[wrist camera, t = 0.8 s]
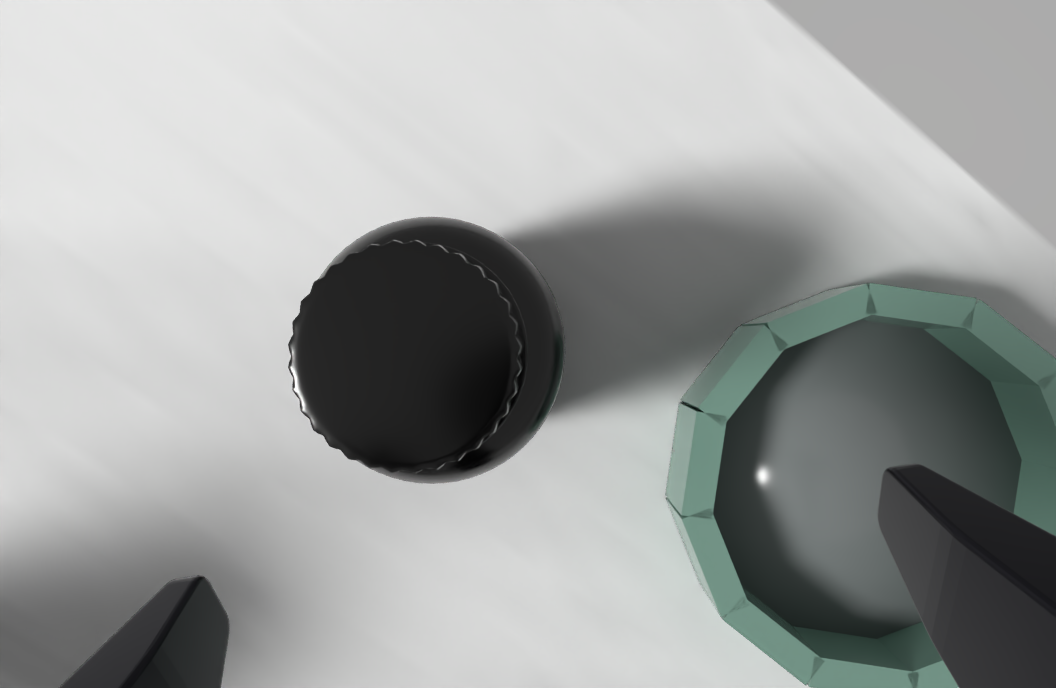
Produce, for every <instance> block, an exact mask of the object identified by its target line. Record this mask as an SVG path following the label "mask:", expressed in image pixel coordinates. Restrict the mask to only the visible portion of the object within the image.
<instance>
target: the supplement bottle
mask: <svg viewBox="0 0 1056 688" xmlns="http://www.w3.org/2000/svg"><path fill="white" fill-rule="evenodd" d="M288 346H289V351H290V354H291V359H290V362H289V366H288V368H289V370H290V373H291V375H292V376H293V391H294V393H295V394H296V396H297V397H298V398H299V399H300V409H301V412H302V413H303V414H304V415H305V416H307V417H308V418H309V419H310V422H311V425H312V428H313V430H314V431H315V432H317V433H319V434H321V435H323V436H324V437H325V439H326V441H327V443H328V444H329V446H330V447H333V448H335V449H339V450H341V451H342V452H343V453H344V455H345V456H346V457H347V458H348V459H351V460H357V461H358V462H360V463H361V464H363V465H365V466H366V467H368V468H370V469H372V470H374V471H376V472H378V473H381V474H384V475H386V476H389V477H392V478H396V479H399V480H403V481H409V482H415V483H428V484H434V483H448V482H456V481H460V480H464V479H469V478H472V477H475V476H477V475H480V474H483V473H485V472H487V471H489V470H492V469H494V468H495V467H497V466H499V465H500V464H502V463H504V462H505V461H507V460H508V459H510V458H511V457H512V456H514V455H515V454H516V453H517V452H518V451H520V450H521V449H522V448H523V447H524V446H525V445H526V444H527V443H528V442H529V441H530V440H531V439H532V438H533V437H534V435H535V434H536V433H537V431H538V430H539V429H540V427H541V426H542V424H543V423H544V421H545V419H546V418H547V416H548V415H549V413H550V410H551V408H552V406H553V404H554V402H555V399H556V397H557V394H558V391H559V388H560V384H561V380H562V376H563V370H564V362H565V338H564V330H563V325H562V321H561V317H560V313H559V310H558V307H557V304H556V301H555V298H554V296H553V294H552V292H551V290H550V288H549V286H548V284H547V283H546V281H545V279H544V278H543V276H542V275H541V274H540V272H539V271H538V269H537V268H536V267H535V266H534V265H533V263H532V262H531V261H530V260H529V259H528V258H527V257H526V256H525V255H524V254H523V253H522V252H521V251H520V250H519V249H517V248H516V247H515V246H513V245H512V244H511V243H509V242H508V241H507V240H505V239H504V238H502V237H500V236H499V235H497V234H496V233H494V232H492V231H489V230H487V229H485V228H483V227H481V226H478V225H475V224H472V223H469V222H465V221H462V220H457V219H451V218H444V217H418V218H411V219H405V220H401V221H397V222H393V223H390V224H387V225H384V226H381V227H379V228H377V229H375V230H373V231H371V232H368V233H367V234H365V235H363V236H362V237H360V238H358V239H357V240H356V241H354V242H353V243H351V244H350V245H349V246H347V247H346V248H345V249H344V250H343V251H342V252H341V253H339V254H338V255H337V256H336V257H335V258H334V260H333V261H332V262H331V263H330V264H329V265H328V266H327V268H326V269H325V270H324V272H323V273H322V274H321V276H320V277H319V279H318V280H316V281H315V282H314V283H313V286H312V289H311V292H310V294H309V295H307V296H306V297H305V298H304V299H303V300H302V301H301V305H300V313H299V315H298V316H297V317H296V318H295V319H294V321H293V336H292V337H291V339H290V342H289V344H288Z"/></svg>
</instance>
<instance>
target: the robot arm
mask: <svg viewBox="0 0 1056 688" xmlns="http://www.w3.org/2000/svg"><path fill="white" fill-rule="evenodd" d="M877 516H878V523H879V527H880V530H881V533H882V535H883V537H884V539H885V542H886V544H887V546H888V548H889V550H890V552H891V555H892V557H893V559H894V561H895V563H896V566H897V568H898V570H899V572H900V574H901V577H902V579H903V581H904V583H905V585H906V587H907V590H908V592H909V594H910V596H911V598H912V601H913V603H914V605H915V607H916V609H917V611H918V614H919V616H920V618H921V620H922V622H923V624H924V626H925V628H926V630H927V633H928V635H929V637H930V639H931V640H932V642H933V644H934V646H935V648H936V649H937V651H938V653H939V655H940V657H941V658H942V660H943V662H944V663H945V665H946V667H947V668H948V670H949V672H950V673H951V675H952V677H953V678H954V680H955V682H956V684H957V685H958V687H959V688H1056V536H1055V535H1053V534H1051V533H1049V532H1047V531H1045V530H1044V529H1042V528H1040V527H1038V526H1036V525H1034V524H1032V523H1031V522H1029V521H1027V520H1025V519H1023V518H1021V517H1019V516H1017V515H1016V514H1014V513H1012V512H1010V511H1008V510H1006V509H1004V508H1002V507H1001V506H999V505H997V504H995V503H993V502H991V501H989V500H988V499H986V498H984V497H982V496H980V495H978V494H976V493H974V492H973V491H971V490H969V489H967V488H965V487H963V486H961V485H960V484H958V483H956V482H954V481H952V480H950V479H948V478H946V477H945V476H943V475H941V474H939V473H937V472H935V471H933V470H931V469H930V468H928V467H926V466H924V465H921V464H918V463H911V464H905V465H898V466H892V467H889V468H887V469H886V470H885V471H884V473H883V476H882V482H881V489H880V497H879V504H878V513H877ZM228 638H229V619H228V616H227V613H226V611H225V609H224V608H223V606H222V604H221V602H220V600H219V599H218V597H217V595H216V593H215V591H214V589H213V588H212V586H211V584H210V582H209V581H208V579H207V578H205V577H204V576H199V575H197V576H191V577H184V578H178V579H174V580H172V581H170V582H168V583H167V584H166V585H165V586H164V587H163V588H162V589H161V590H160V591H159V592H158V593H157V594H156V595H154V596H153V597H152V598H151V599H150V600H149V601H148V602H147V603H146V604H145V605H144V606H143V607H142V608H141V609H140V610H139V611H138V612H137V613H136V614H135V615H134V616H133V617H132V618H131V619H130V620H129V621H127V622H126V623H125V624H124V625H123V626H122V627H121V628H120V629H119V630H118V631H117V632H116V633H115V634H114V635H113V636H112V637H111V638H110V639H109V640H108V641H107V642H106V643H105V644H104V645H103V646H102V647H100V648H99V649H98V650H97V651H96V652H95V653H94V654H93V655H92V656H91V657H90V658H89V659H88V660H87V661H86V662H85V663H84V664H83V665H82V666H81V667H80V668H79V669H78V670H77V671H76V672H75V673H73V674H72V675H71V676H70V677H69V678H68V679H67V680H66V681H65V682H64V683H63V684H62V685H61V686H60V687H59V688H221V683H222V677H223V670H224V664H225V657H226V651H227V645H228Z"/></svg>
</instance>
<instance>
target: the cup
mask: <svg viewBox="0 0 1056 688" xmlns="http://www.w3.org/2000/svg"><path fill="white" fill-rule="evenodd" d="M741 325H742V326H739V327H738V328H737V329H736V330H735V331H734V333H733V334H732V335H731V337H730V338H729V339H728V340H727V342H726V343H725V344H724V345H723V347H722V348H721V349H720V350H719V352H718V353H717V354H716V355H715V357H714V358H713V359H712V360H711V362H710V363H709V364H708V365H707V367H706V368H705V369H704V370H703V372H702V373H701V374H700V375H699V377H698V378H697V379H696V381H695V382H694V383H693V384H692V386H691V387H690V388H689V389H688V391H687V392H686V393H685V394H684V396H683V397H682V398H681V399H680V400H681V401H683V402H684V403H685V404H682V403H679V406H678V413H677V419H676V426H675V433H674V440H673V446H672V453H671V460H670V467H669V473H668V480H667V487H666V494H665V495H666V496H667V498H666V500H667V503H668V505H669V508H670V510H671V513H672V515H673V518H674V520H675V523H676V525H677V528H678V530H679V533H680V535H681V538H682V540H683V543H684V545H685V548H686V550H687V553H688V555H689V558H690V560H691V563H692V565H693V568H694V570H695V573H696V575H697V578H698V580H699V583H700V585H701V587H702V588H703V590H704V591H705V593H706V595H707V596H708V598H709V599H710V601H711V602H712V604H713V606H714V607H715V609H716V610H717V612H718V613H719V615H720V616H721V618H722V619H723V620H724V621H725V622H726V623H727V624H729V625H730V626H731V627H733V628H734V629H735V630H736V631H738V632H739V633H740V634H741V635H743V636H744V637H745V638H746V639H748V640H749V641H750V642H751V643H753V644H754V645H755V646H757V647H758V648H759V649H760V650H762V651H763V652H764V653H765V654H767V655H768V656H769V657H770V658H772V659H773V660H774V661H776V662H777V663H778V664H779V665H781V666H782V667H783V668H784V669H786V670H787V671H788V672H789V673H791V674H792V675H793V676H794V677H796V678H797V679H798V680H800V681H801V682H802V683H803V684H805V685H806V684H808V686H809V687H813V688H958V685H957V684H956V682H955V680H954V678H953V677H952V675H951V673H950V672H949V670H948V668H947V667H946V665H945V663H944V662H943V660H942V658H941V657H940V655H939V653H938V651H937V649H936V648H935V646H934V644H933V642H932V640H931V639H930V637H929V635H928V633H927V630H926V628H925V626H924V624H923V622H922V620H921V618H920V616H919V614H918V611H917V609H916V607H915V605H914V603H913V601H912V598H911V596H910V594H909V592H908V590H907V587H906V585H905V583H904V581H903V579H902V577H901V574H900V572H899V570H898V568H897V566H896V563H895V561H894V559H893V557H892V555H891V552H890V550H889V548H888V546H887V544H886V542H885V539H884V537H883V535H882V533H881V530H880V527H879V523H878V516H877V513H878V504H879V497H880V489H881V482H882V476H883V473H884V471H885V470H886V469H887V468H889V467H892V466H898V465H905V464H911V463H918V464H921V465H924V466H926V467H928V468H930V469H931V470H933V471H935V472H937V473H939V474H941V475H943V476H945V477H946V478H948V479H950V480H952V481H954V482H956V483H958V484H960V485H961V486H963V487H965V488H967V489H969V490H971V491H973V492H974V493H976V494H978V495H980V496H982V497H984V498H986V499H988V500H989V501H991V502H993V503H995V504H997V505H999V506H1001V507H1002V508H1004V509H1006V510H1008V511H1010V512H1012V513H1014V514H1016V515H1017V516H1019V517H1021V518H1023V519H1025V520H1027V521H1029V522H1031V523H1032V524H1034V525H1036V526H1038V527H1040V528H1042V529H1044V530H1045V531H1047V532H1049V533H1051V534H1053V535H1055V536H1056V359H1055V358H1054V357H1053V356H1052V355H1050V354H1049V353H1048V352H1047V351H1045V350H1044V349H1043V348H1041V347H1040V346H1039V345H1038V344H1036V343H1035V342H1034V341H1032V340H1031V339H1030V338H1029V337H1027V336H1026V335H1025V334H1023V333H1022V332H1021V331H1020V330H1018V329H1017V328H1016V327H1015V326H1013V325H1012V324H1011V323H1009V322H1008V321H1007V320H1006V319H1004V318H1003V317H1002V316H1000V315H999V314H998V313H997V312H995V311H994V310H993V309H992V308H990V307H989V306H988V305H986V304H985V303H984V302H983V301H981V300H976V298H972V297H965V296H958V295H951V294H944V293H937V292H930V291H923V290H916V289H909V288H902V287H895V286H888V285H881V284H874V283H867V284H860V285H854V286H848V287H842V288H836V289H830V290H827V291H825V292H822V293H819V294H817V295H814V296H812V297H809V298H807V299H804V300H802V301H799V302H797V303H794V304H792V305H789V306H787V307H784V308H782V309H779V310H777V311H774V312H772V313H769V314H766V315H764V316H761V317H759V318H756V319H754V320H751V321H749V322H746V323H744V324H741Z"/></svg>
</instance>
